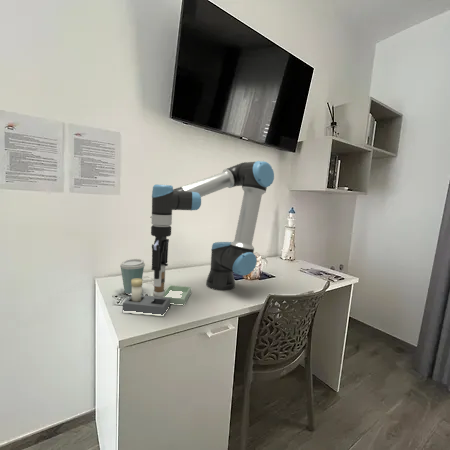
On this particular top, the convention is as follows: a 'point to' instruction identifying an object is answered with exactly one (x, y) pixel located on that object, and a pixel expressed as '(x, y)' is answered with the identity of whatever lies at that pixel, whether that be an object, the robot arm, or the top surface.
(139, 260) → the disposable coffee cup
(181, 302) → the parts tray
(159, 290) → the cylinder
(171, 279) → the top surface
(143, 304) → the grey rectangular block
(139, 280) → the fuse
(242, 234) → the robot arm
